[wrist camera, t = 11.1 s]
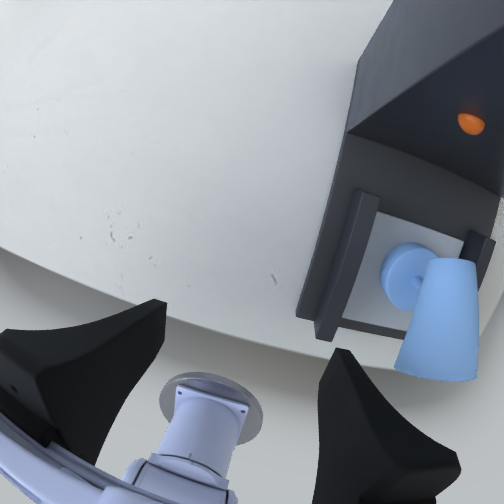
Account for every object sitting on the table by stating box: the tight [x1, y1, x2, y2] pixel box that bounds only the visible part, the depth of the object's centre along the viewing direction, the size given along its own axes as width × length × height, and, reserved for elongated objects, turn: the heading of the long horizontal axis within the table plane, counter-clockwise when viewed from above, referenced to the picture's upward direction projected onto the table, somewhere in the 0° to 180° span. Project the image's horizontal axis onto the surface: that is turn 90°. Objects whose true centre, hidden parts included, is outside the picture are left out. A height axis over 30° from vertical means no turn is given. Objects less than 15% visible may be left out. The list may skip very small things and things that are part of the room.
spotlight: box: [380, 242, 479, 382], centre depth 14 cm, size 5×10×7 cm
